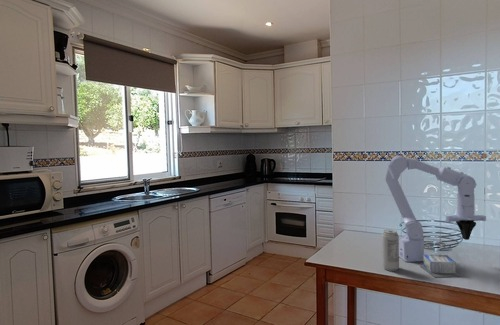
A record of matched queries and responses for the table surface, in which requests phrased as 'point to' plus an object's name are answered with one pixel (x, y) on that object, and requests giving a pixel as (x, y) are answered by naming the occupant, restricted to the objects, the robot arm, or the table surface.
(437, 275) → the mat
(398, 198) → the robot arm
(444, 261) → the medicine box
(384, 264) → the energy drink can
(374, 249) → the table surface
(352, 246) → the table surface
